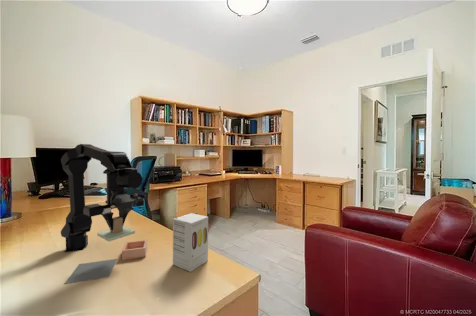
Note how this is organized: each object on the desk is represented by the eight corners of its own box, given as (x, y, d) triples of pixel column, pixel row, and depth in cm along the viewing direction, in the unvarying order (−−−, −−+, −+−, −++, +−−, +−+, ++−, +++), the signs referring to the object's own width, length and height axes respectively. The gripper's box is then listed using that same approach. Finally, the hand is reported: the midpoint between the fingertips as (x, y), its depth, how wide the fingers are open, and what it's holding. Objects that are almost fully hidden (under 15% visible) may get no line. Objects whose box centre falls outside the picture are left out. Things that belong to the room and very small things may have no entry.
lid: (97, 235, 76) (97, 218, 76) (122, 228, 84) (122, 213, 83) (108, 241, 71) (108, 224, 71) (135, 233, 78) (134, 217, 78)
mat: (63, 285, 64) (63, 284, 64) (79, 265, 76) (79, 264, 76) (109, 278, 68) (109, 276, 68) (117, 259, 79) (117, 258, 79)
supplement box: (190, 272, 71) (190, 223, 71) (171, 264, 76) (171, 218, 76) (208, 260, 80) (208, 216, 79) (190, 254, 84) (190, 212, 84)
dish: (122, 261, 78) (121, 251, 78) (125, 251, 86) (125, 242, 86) (145, 258, 81) (145, 247, 81) (147, 249, 88) (147, 239, 88)
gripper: (96, 193, 64) (97, 243, 65) (152, 185, 80) (152, 226, 80) (82, 189, 71) (83, 235, 71) (136, 182, 86) (136, 220, 87)
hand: (116, 228), depth 77 cm, fingers closed on lid, 3 cm apart
